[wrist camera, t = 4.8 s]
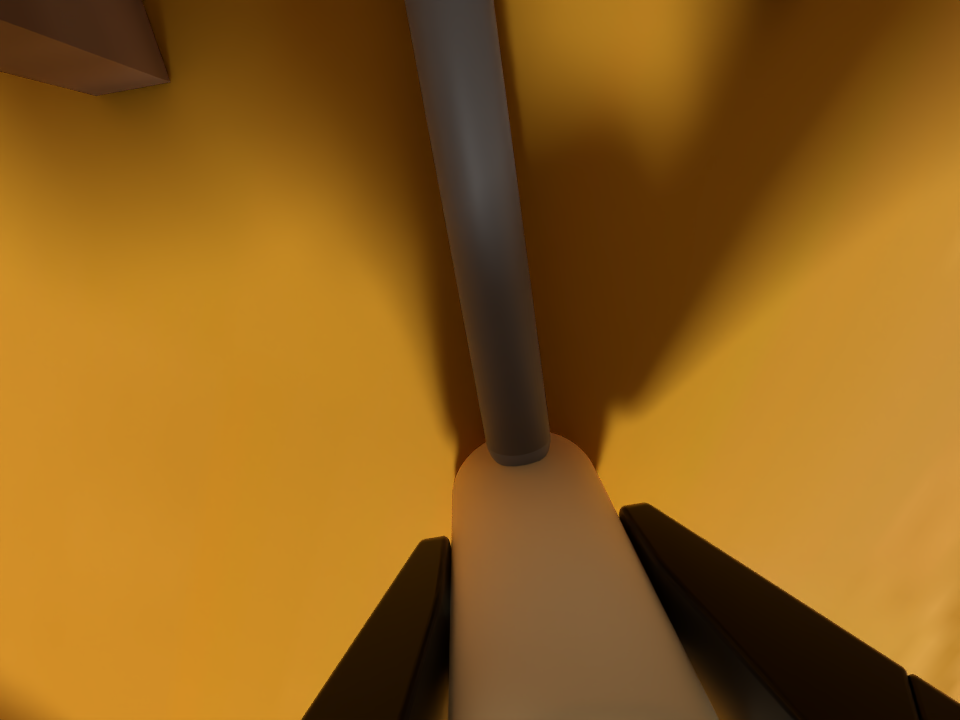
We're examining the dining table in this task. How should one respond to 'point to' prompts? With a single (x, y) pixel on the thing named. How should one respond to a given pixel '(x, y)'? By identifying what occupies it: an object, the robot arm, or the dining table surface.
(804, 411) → the dining table surface
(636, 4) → the dining table surface
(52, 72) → the lane rack
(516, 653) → the mallet
